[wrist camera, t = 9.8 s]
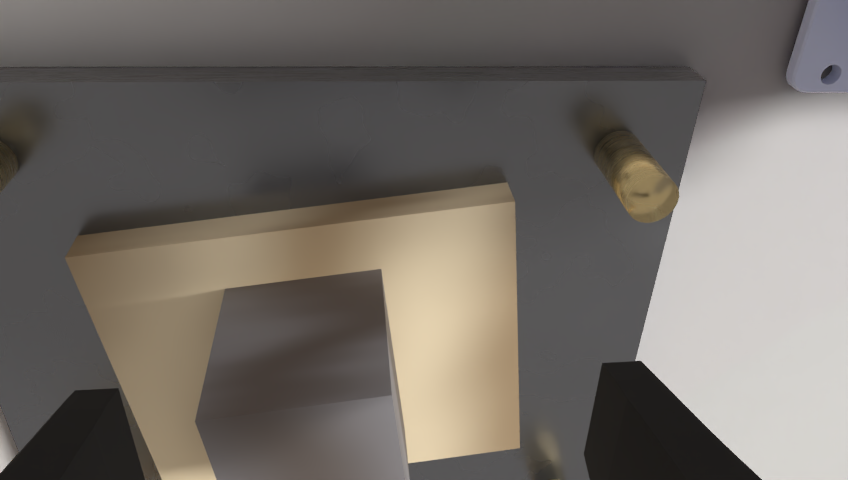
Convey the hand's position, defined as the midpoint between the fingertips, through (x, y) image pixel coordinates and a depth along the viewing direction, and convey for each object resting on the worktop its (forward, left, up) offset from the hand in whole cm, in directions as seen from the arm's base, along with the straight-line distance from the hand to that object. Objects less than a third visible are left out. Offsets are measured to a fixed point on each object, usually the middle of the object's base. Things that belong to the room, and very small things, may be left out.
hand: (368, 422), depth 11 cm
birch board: (+1, +6, -8) cm, 10 cm away
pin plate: (+1, +6, -9) cm, 11 cm away
